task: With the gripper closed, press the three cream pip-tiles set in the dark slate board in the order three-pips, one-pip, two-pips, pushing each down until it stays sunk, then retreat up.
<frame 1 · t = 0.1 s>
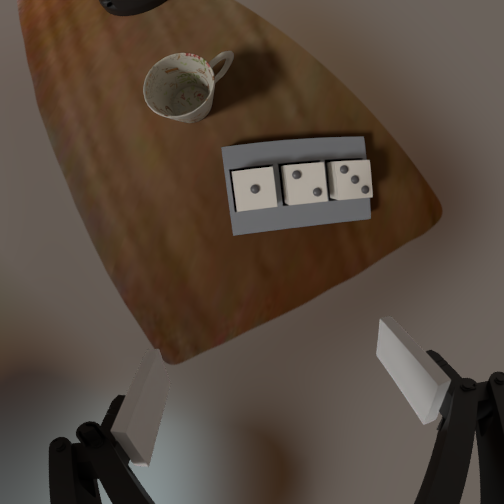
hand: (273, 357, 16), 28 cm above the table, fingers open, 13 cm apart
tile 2: (303, 183, 36), point 4 cm above the table, slide at 0.0 cm
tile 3: (349, 179, 36), point 4 cm above the table, slide at 0.0 cm
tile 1: (254, 188, 36), point 4 cm above the table, slide at 0.0 cm
board: (297, 182, 40), on the table
mug: (202, 94, 37), on the table
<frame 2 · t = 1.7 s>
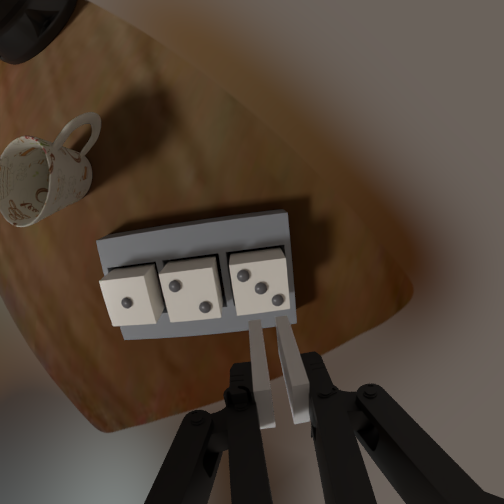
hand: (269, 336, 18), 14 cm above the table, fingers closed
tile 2: (192, 289, 27), point 4 cm above the table, slide at 0.0 cm
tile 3: (259, 280, 28), point 4 cm above the table, slide at 0.0 cm
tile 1: (132, 295, 27), point 4 cm above the table, slide at 0.0 cm
board: (198, 274, 32), on the table
mug: (82, 162, 28), on the table
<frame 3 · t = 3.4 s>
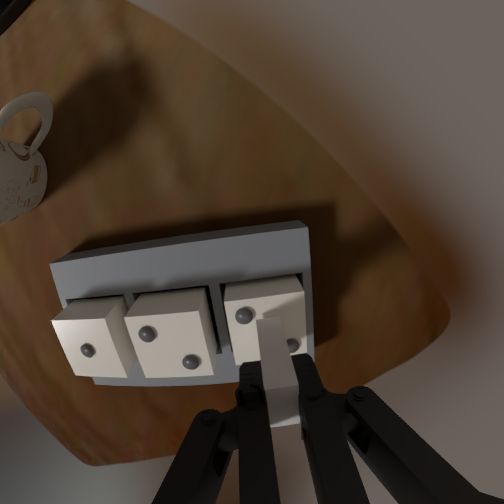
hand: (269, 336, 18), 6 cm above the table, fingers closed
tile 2: (174, 334, 19), point 4 cm above the table, slide at 0.0 cm
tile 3: (265, 318, 20), point 3 cm above the table, slide at 0.9 cm, touching gripper
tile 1: (97, 337, 19), point 4 cm above the table, slide at 0.0 cm
board: (184, 307, 23), on the table
mug: (37, 160, 19), on the table
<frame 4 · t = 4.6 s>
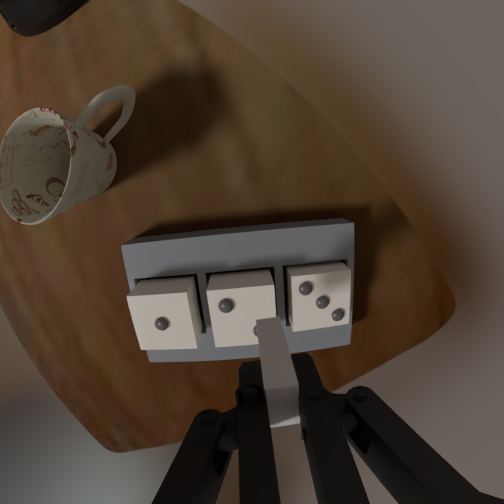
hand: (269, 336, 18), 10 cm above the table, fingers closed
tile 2: (243, 308, 23), point 4 cm above the table, slide at 0.0 cm
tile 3: (316, 293, 25), point 3 cm above the table, slide at 1.3 cm
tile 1: (166, 313, 23), point 4 cm above the table, slide at 0.0 cm
board: (242, 288, 27), on the table
mug: (105, 149, 24), on the table
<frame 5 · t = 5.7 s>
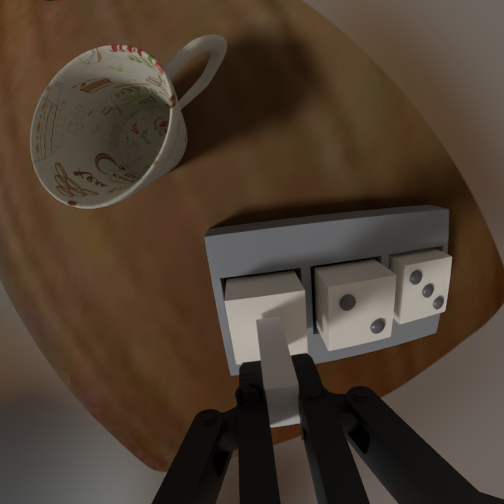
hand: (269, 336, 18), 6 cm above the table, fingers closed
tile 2: (353, 303, 20), point 4 cm above the table, slide at 0.0 cm
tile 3: (416, 282, 21), point 3 cm above the table, slide at 1.3 cm
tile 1: (266, 317, 20), point 4 cm above the table, slide at 0.1 cm, touching gripper
board: (336, 282, 24), on the table
mug: (169, 121, 20), on the table
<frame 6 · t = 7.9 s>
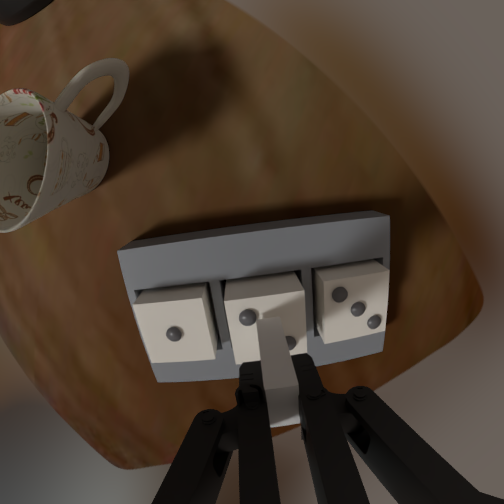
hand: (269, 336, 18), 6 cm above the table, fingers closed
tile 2: (265, 317, 20), point 4 cm above the table, slide at 0.4 cm, touching gripper
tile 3: (349, 298, 21), point 3 cm above the table, slide at 1.3 cm
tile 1: (178, 321, 21), point 3 cm above the table, slide at 1.3 cm
board: (261, 295, 24), on the table
mug: (95, 139, 20), on the table
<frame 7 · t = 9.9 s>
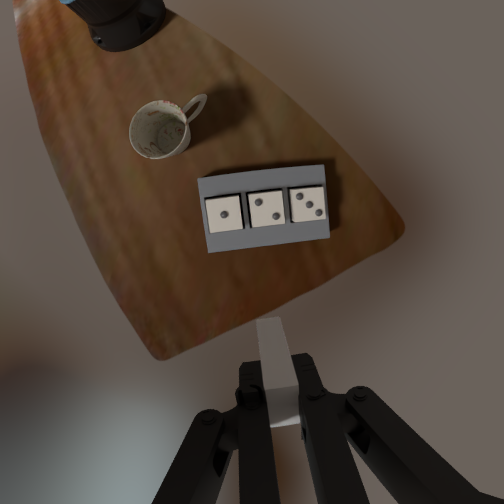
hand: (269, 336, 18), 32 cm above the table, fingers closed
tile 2: (266, 208, 45), point 3 cm above the table, slide at 1.3 cm
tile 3: (306, 203, 45), point 3 cm above the table, slide at 1.3 cm
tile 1: (224, 213, 45), point 3 cm above the table, slide at 1.3 cm
board: (264, 206, 48), on the table
mug: (182, 128, 44), on the table
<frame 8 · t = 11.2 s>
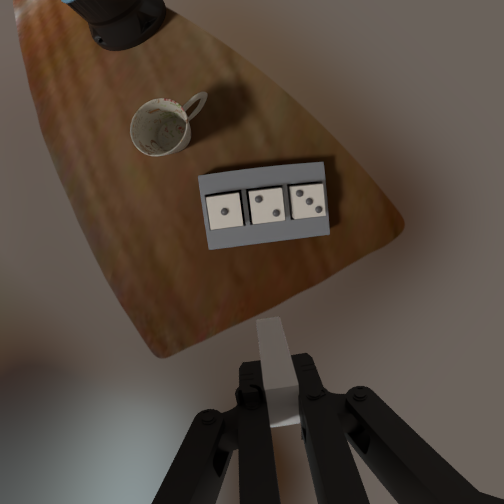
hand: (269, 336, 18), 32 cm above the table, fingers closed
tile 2: (266, 204, 45), point 3 cm above the table, slide at 1.3 cm
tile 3: (306, 200, 45), point 3 cm above the table, slide at 1.3 cm
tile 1: (225, 210, 45), point 3 cm above the table, slide at 1.3 cm
board: (264, 203, 48), on the table
mug: (182, 126, 44), on the table
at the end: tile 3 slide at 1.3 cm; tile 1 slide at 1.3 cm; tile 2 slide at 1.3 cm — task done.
